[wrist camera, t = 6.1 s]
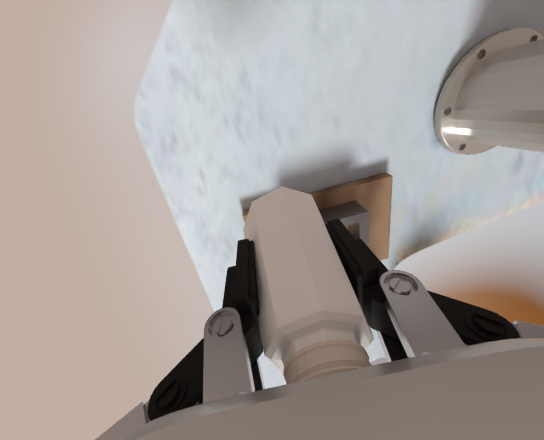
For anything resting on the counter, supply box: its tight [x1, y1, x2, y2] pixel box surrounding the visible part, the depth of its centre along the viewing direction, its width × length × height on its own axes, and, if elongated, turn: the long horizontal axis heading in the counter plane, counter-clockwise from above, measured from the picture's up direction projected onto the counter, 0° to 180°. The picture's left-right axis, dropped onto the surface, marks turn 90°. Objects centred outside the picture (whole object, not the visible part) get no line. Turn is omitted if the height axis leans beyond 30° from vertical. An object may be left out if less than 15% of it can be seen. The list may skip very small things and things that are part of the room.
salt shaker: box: [244, 186, 374, 384], centre depth 9 cm, size 5×5×11 cm
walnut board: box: [243, 173, 392, 260], centre depth 31 cm, size 20×14×2 cm
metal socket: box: [319, 200, 369, 247], centre depth 29 cm, size 10×10×4 cm
